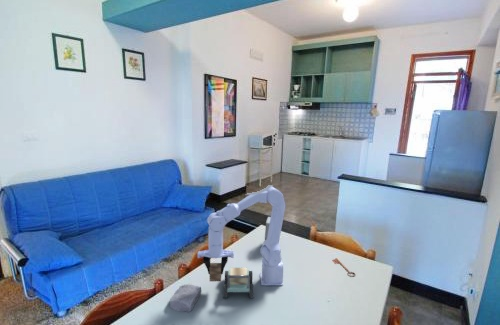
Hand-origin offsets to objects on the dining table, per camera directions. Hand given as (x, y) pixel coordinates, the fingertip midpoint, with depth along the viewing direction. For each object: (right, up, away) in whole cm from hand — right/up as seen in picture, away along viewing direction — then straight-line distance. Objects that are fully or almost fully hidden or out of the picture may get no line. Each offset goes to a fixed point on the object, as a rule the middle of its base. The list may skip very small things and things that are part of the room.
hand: (215, 272), depth 106 cm
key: (+60, -7, +21) cm, 64 cm away
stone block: (-12, -10, -3) cm, 16 cm away
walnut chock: (0, -2, +1) cm, 2 cm away
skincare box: (+26, -2, +40) cm, 48 cm away
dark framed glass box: (+9, -9, +4) cm, 13 cm away
